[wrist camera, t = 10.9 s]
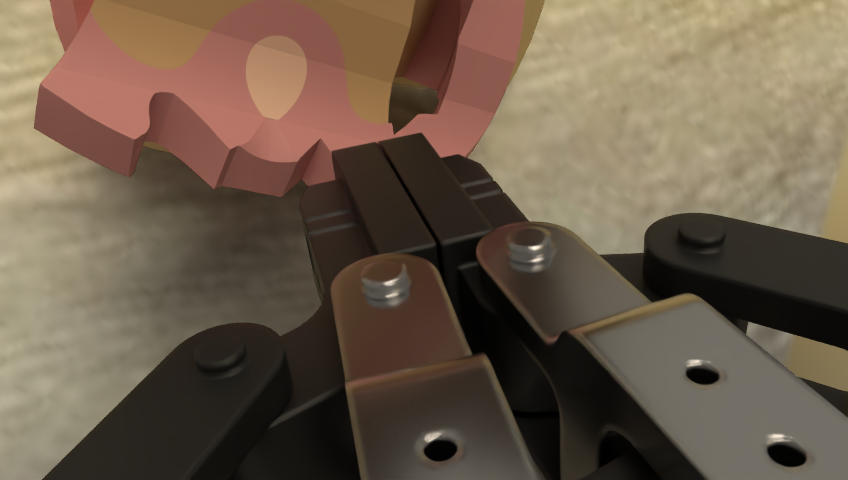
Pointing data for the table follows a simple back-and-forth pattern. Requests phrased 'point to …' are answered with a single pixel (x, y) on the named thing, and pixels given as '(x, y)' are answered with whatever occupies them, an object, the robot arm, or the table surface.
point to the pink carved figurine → (273, 80)
